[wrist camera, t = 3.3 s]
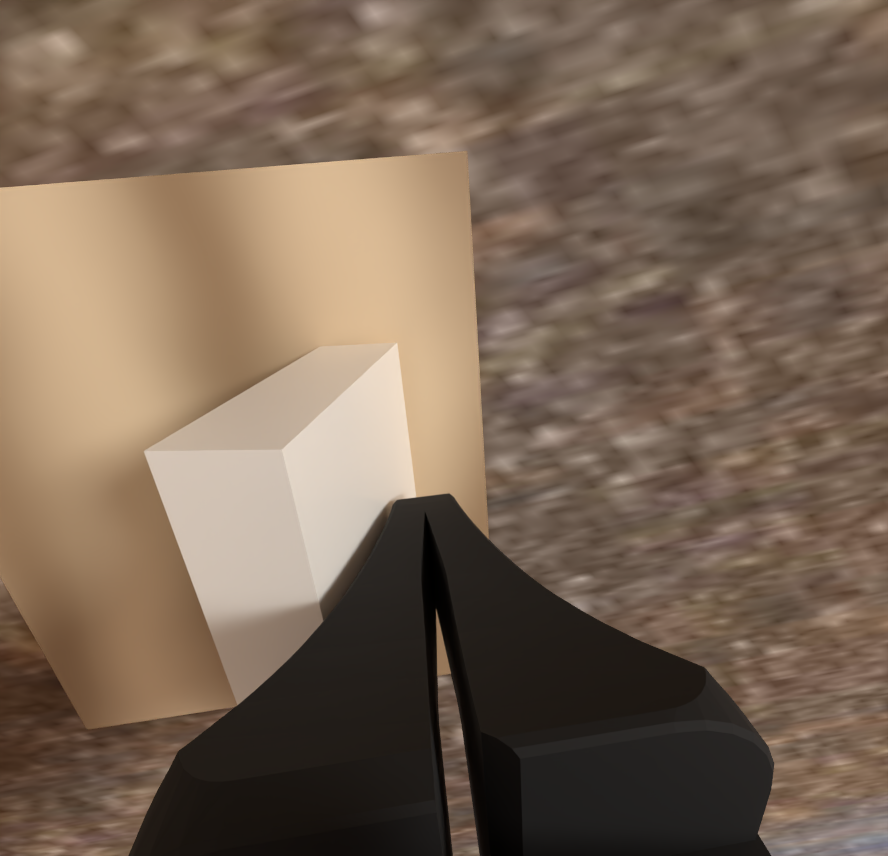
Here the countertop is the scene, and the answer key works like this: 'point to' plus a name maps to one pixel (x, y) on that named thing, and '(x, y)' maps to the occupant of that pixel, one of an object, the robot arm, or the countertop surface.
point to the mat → (203, 381)
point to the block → (286, 499)
